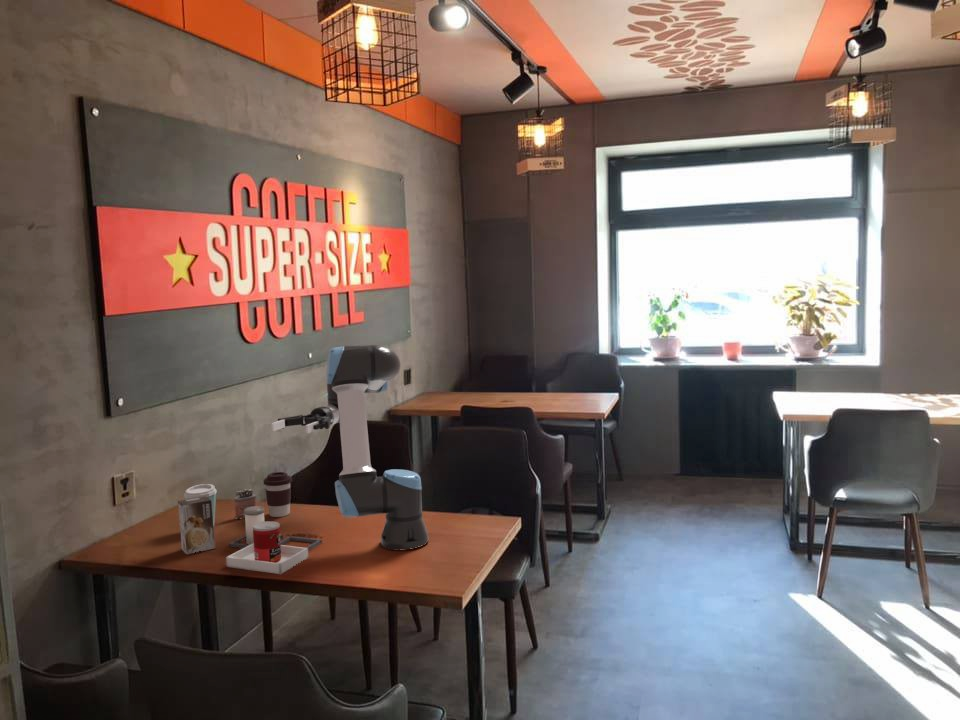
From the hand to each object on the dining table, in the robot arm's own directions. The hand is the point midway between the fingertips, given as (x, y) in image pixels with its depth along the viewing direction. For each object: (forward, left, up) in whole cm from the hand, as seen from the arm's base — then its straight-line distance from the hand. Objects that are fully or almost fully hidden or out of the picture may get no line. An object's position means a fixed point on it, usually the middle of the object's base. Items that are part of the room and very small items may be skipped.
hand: (289, 428), depth 266 cm
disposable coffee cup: (+31, +9, -35) cm, 48 cm away
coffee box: (+19, +25, -35) cm, 47 cm away
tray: (-10, +28, -35) cm, 46 cm away
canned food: (-10, +28, -35) cm, 46 cm away
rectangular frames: (-2, +14, -35) cm, 38 cm away
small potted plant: (+26, -8, -35) cm, 45 cm away
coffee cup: (+16, -14, -35) cm, 42 cm away
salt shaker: (+5, +14, -35) cm, 38 cm away
